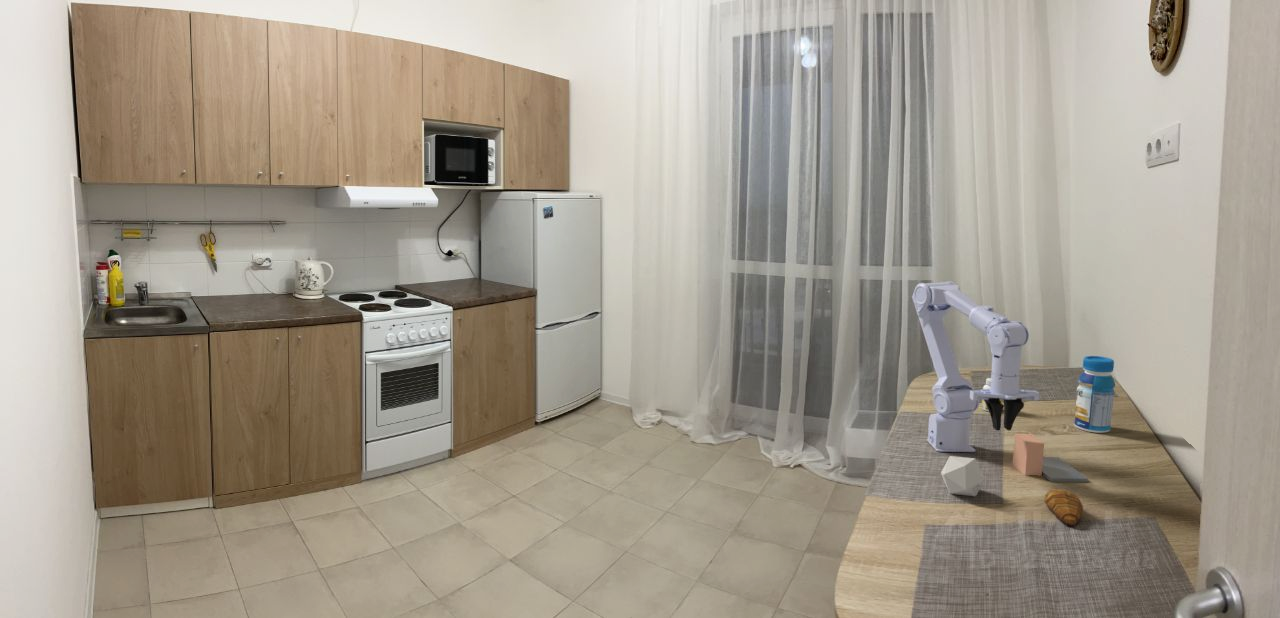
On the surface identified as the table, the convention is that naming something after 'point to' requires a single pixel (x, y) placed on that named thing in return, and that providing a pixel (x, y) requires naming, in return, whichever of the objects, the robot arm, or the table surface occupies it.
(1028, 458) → the block
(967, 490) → the die
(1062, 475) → the board
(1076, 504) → the croissant
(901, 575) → the table surface
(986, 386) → the supplement bottle
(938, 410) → the robot arm
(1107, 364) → the beverage bottle
